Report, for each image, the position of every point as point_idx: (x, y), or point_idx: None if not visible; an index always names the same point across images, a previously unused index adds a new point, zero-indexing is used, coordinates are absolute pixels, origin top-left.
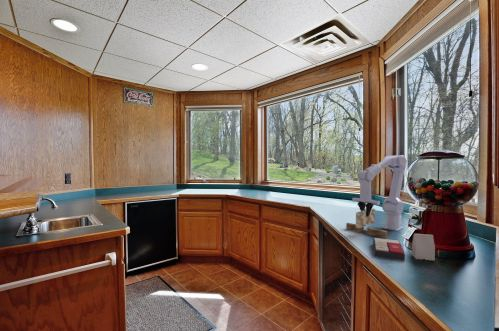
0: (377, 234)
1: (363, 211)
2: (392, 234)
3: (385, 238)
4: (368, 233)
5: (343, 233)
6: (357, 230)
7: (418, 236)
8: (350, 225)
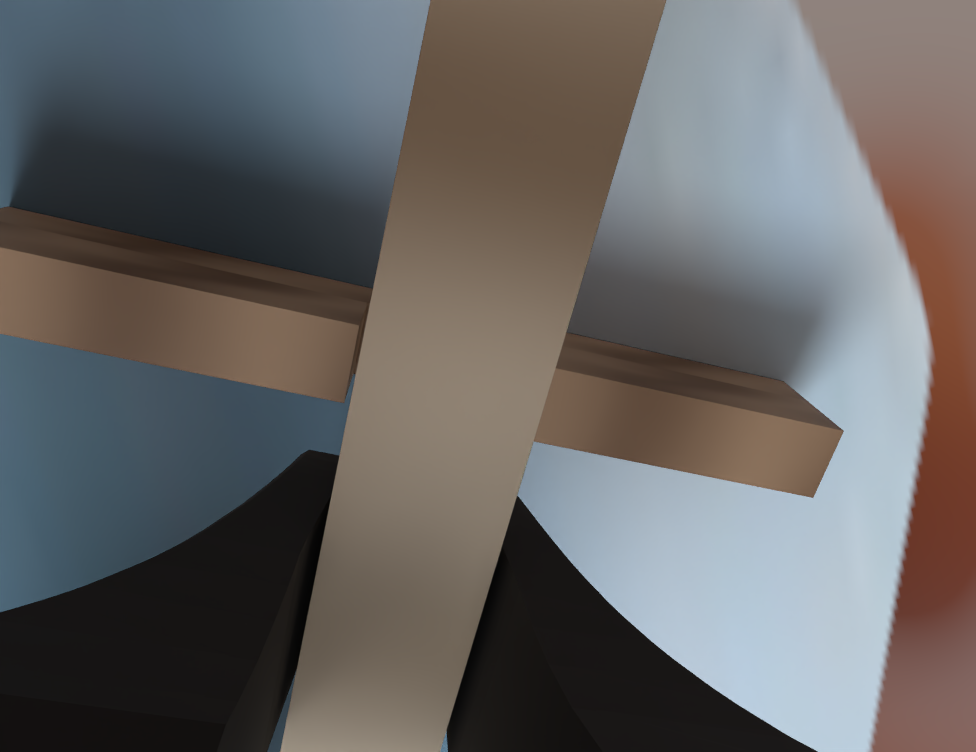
0: (154, 251)
1: (427, 475)
2: (20, 538)
3: (10, 209)
4: (347, 287)
5: (793, 30)
6: (570, 340)
7: None
8: (737, 398)
